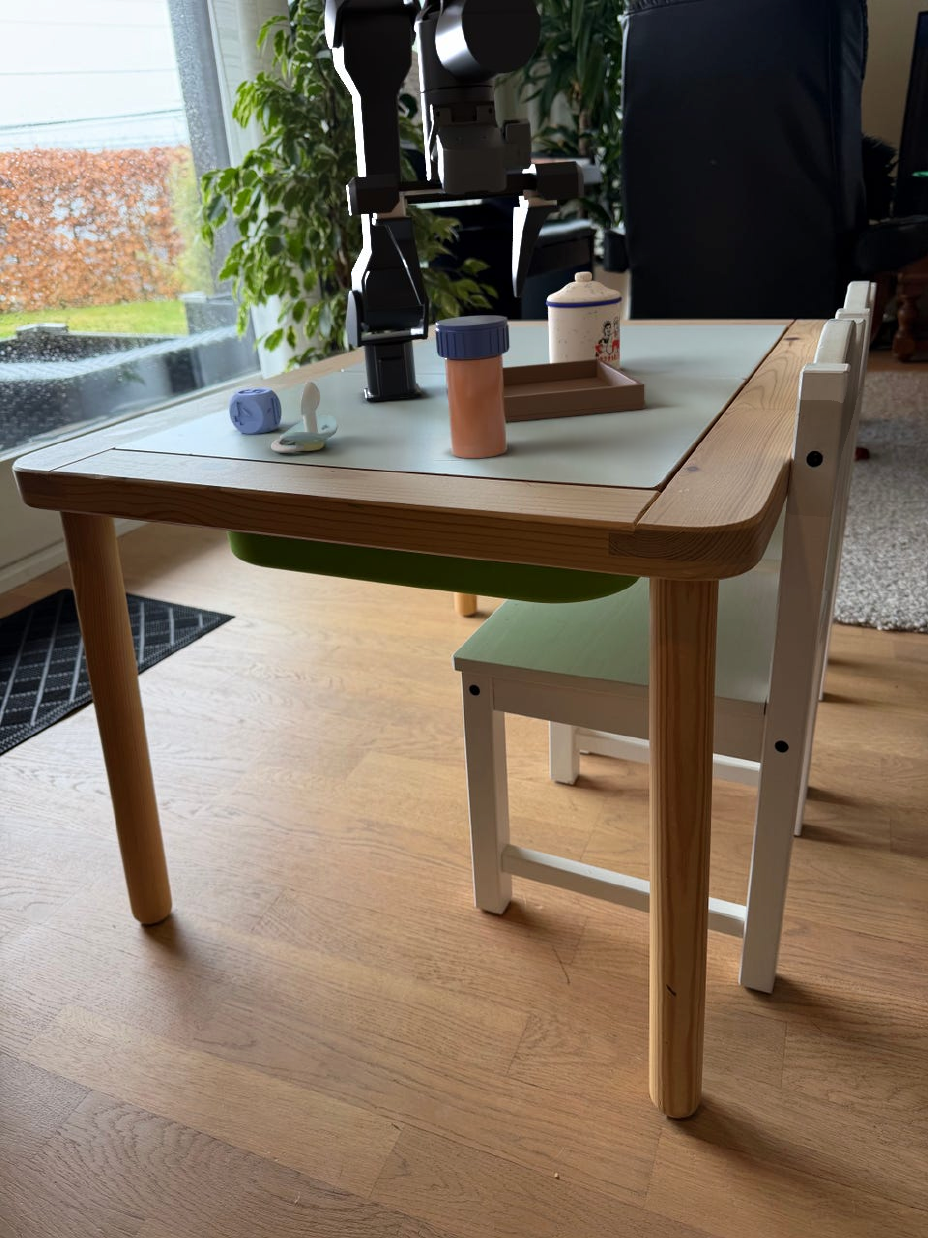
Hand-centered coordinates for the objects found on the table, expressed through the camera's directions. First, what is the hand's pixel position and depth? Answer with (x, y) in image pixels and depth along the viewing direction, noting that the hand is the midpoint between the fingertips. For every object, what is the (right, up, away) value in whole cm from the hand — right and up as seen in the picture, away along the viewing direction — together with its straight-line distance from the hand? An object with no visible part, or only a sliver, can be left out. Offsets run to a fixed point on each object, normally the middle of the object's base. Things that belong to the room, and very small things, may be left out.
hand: (470, 300), depth 80 cm
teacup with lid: (+15, +4, +39) cm, 42 cm away
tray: (+9, -3, +24) cm, 26 cm away
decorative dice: (-22, -7, +20) cm, 31 cm away
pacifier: (-16, -11, +11) cm, 22 cm away
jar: (+1, -12, +5) cm, 13 cm away
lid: (0, -2, +1) cm, 2 cm away
